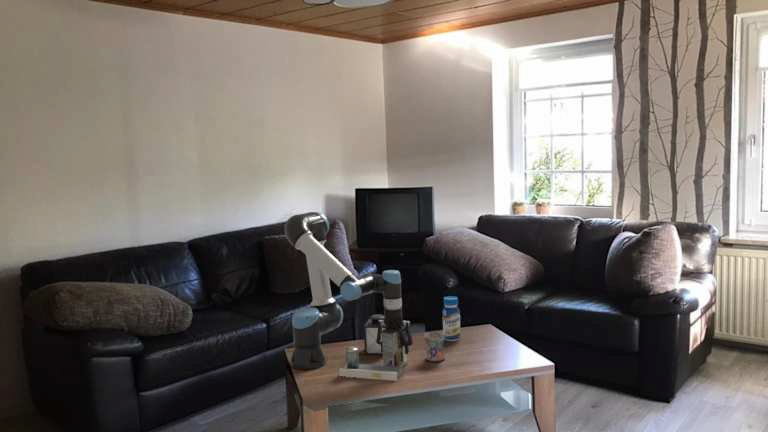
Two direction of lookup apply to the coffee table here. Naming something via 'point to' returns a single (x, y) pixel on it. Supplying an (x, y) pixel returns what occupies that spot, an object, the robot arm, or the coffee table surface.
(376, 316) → the lantern
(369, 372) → the shelf board
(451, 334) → the beverage bottle
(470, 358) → the coffee table surface
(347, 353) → the tea tin
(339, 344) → the coffee table surface
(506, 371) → the coffee table surface
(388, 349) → the coffee box
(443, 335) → the mug
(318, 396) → the coffee table surface
